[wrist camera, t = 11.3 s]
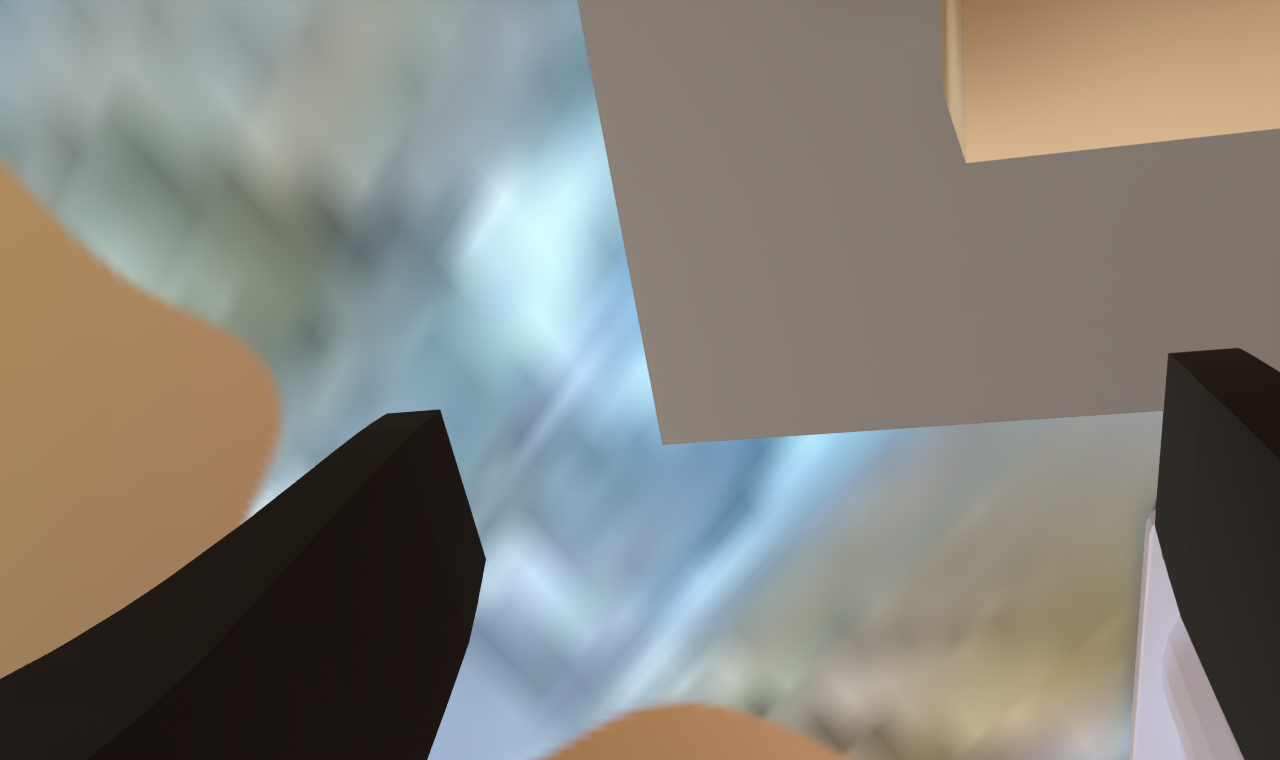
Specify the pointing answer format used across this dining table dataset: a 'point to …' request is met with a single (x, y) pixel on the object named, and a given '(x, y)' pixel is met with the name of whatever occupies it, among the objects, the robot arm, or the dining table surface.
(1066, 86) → the tan block
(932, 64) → the board
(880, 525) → the dining table surface
